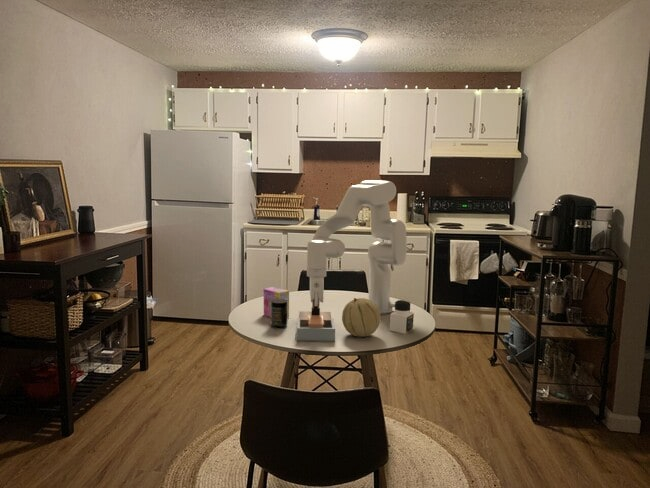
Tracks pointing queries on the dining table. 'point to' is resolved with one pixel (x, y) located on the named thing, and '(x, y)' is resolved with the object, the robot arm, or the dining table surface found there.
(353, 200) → the robot arm
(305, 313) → the brown flat block
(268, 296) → the box
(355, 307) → the cantaloupe
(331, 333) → the tray
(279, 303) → the supplement container
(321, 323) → the tile front
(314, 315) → the tile rear
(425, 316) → the dining table surface
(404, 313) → the medicine bottle
